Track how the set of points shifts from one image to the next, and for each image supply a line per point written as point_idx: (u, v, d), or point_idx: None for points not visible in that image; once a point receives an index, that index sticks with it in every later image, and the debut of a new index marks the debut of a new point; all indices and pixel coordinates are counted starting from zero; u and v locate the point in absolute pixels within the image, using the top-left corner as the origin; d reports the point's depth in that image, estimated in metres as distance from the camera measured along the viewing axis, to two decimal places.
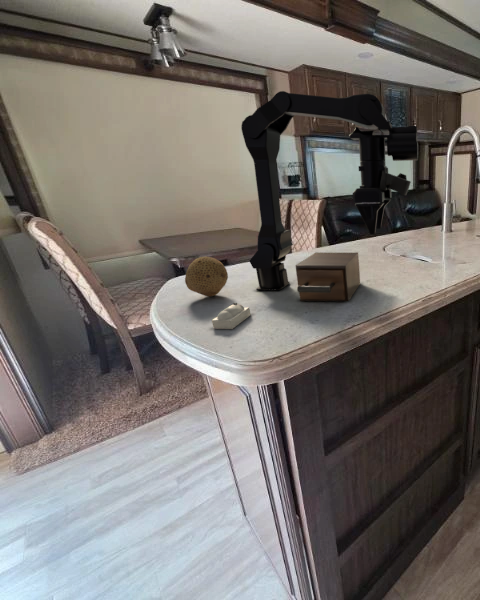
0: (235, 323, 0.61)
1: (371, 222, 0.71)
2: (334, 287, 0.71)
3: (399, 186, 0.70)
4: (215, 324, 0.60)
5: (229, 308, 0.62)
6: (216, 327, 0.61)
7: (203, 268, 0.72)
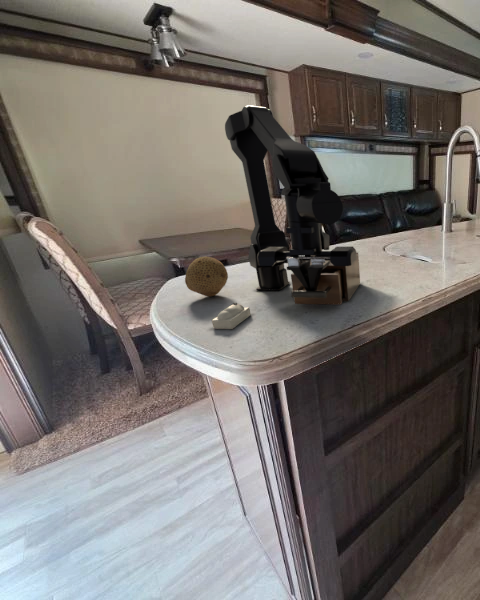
0: (235, 323, 0.61)
1: (317, 283, 0.65)
2: (330, 292, 0.68)
3: (327, 242, 0.68)
4: (215, 324, 0.60)
5: (229, 308, 0.62)
6: (216, 327, 0.61)
7: (203, 268, 0.72)
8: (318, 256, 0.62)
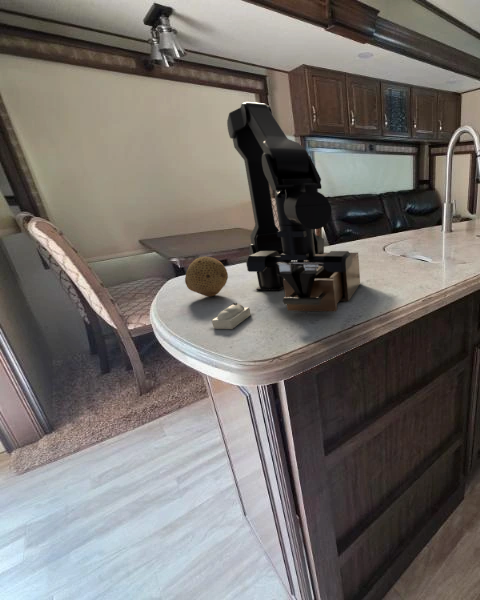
0: (235, 323, 0.61)
1: (310, 290, 0.62)
2: (324, 298, 0.65)
3: (322, 246, 0.65)
4: (215, 324, 0.60)
5: (229, 308, 0.62)
6: (216, 327, 0.61)
7: (203, 268, 0.72)
8: (311, 261, 0.58)
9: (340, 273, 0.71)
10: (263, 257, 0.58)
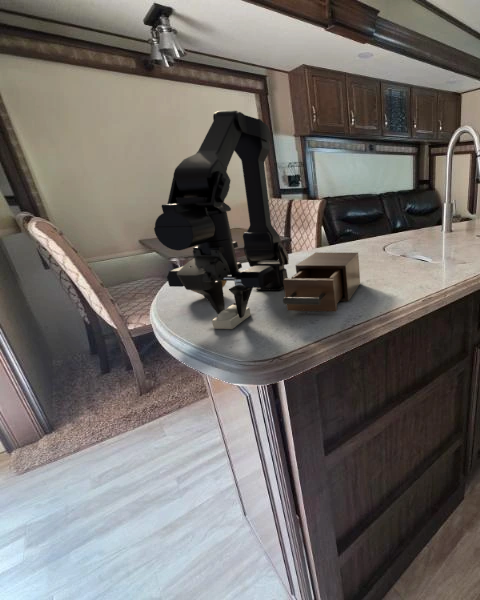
0: (235, 323, 0.61)
1: None
2: (324, 298, 0.65)
3: None
4: (215, 324, 0.60)
5: (229, 308, 0.62)
6: (216, 327, 0.61)
7: None
8: None
9: (340, 273, 0.71)
10: None
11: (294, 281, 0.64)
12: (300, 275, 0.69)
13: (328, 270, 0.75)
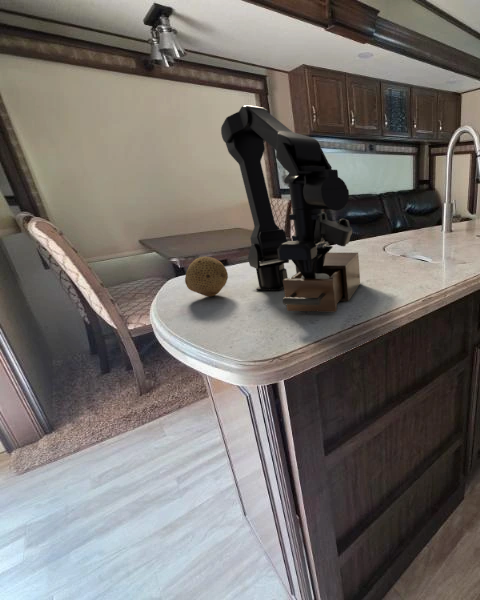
0: None
1: (309, 274, 0.64)
2: (324, 298, 0.64)
3: (336, 237, 0.62)
4: None
5: None
6: None
7: (203, 268, 0.72)
8: None
9: (340, 273, 0.71)
10: None
11: (294, 281, 0.64)
12: (300, 275, 0.69)
13: (328, 270, 0.75)
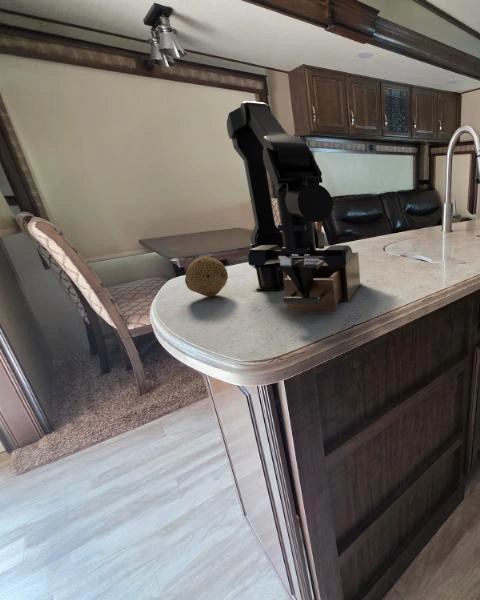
0: None
1: (310, 284, 0.62)
2: (325, 298, 0.65)
3: (322, 240, 0.65)
4: None
5: None
6: None
7: (203, 268, 0.72)
8: (311, 255, 0.59)
9: (340, 273, 0.71)
10: (264, 251, 0.58)
11: None
12: None
13: (328, 270, 0.75)
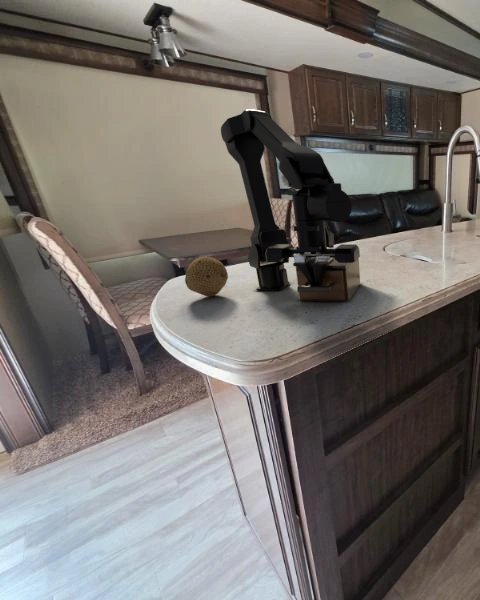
0: None
1: (321, 279, 0.69)
2: (334, 287, 0.71)
3: (332, 240, 0.72)
4: None
5: None
6: None
7: (203, 268, 0.72)
8: (322, 253, 0.65)
9: None
10: (280, 249, 0.65)
11: None
12: None
13: None
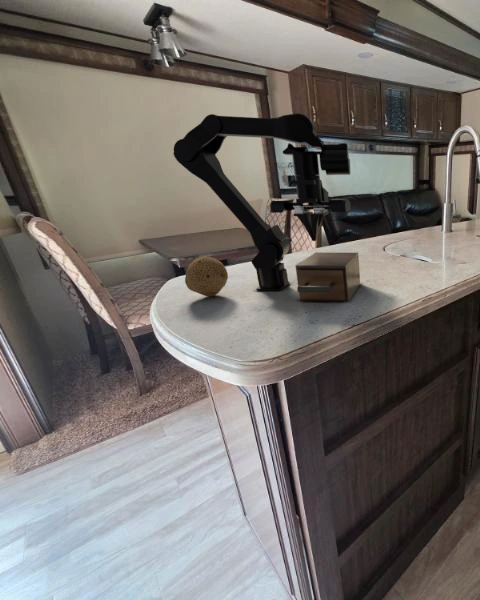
0: None
1: (318, 229, 0.80)
2: (334, 287, 0.71)
3: (327, 197, 0.83)
4: None
5: None
6: None
7: (203, 268, 0.72)
8: (318, 205, 0.77)
9: None
10: (282, 201, 0.76)
11: (306, 272, 0.70)
12: None
13: None
